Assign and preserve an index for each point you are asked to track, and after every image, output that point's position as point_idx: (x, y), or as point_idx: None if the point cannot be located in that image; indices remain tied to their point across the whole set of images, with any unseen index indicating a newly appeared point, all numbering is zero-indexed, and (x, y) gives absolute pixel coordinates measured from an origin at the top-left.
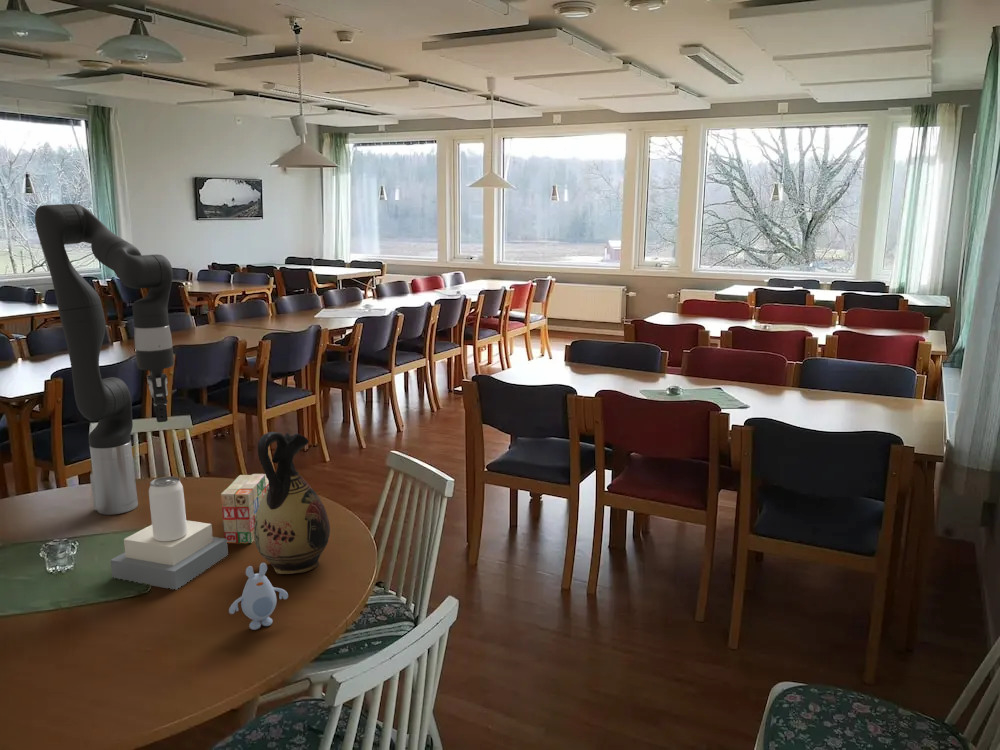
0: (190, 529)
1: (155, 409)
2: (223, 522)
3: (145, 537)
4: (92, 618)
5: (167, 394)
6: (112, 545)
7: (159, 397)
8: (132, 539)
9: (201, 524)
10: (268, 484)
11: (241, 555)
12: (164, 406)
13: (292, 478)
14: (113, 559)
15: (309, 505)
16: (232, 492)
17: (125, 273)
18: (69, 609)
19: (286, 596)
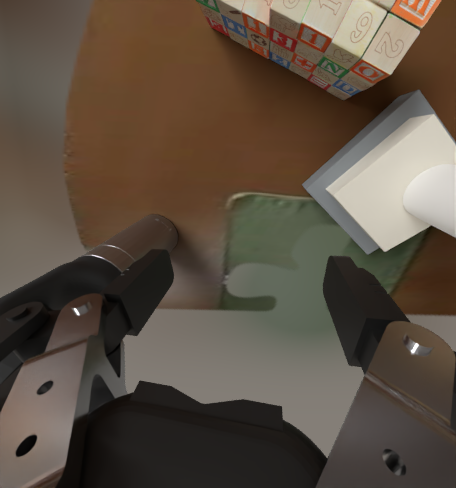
0: (429, 157)
1: (166, 287)
2: (360, 91)
3: (403, 226)
4: (449, 263)
5: (378, 382)
6: (264, 241)
7: (128, 312)
8: (395, 242)
9: (418, 135)
10: None
11: (414, 70)
12: (383, 321)
13: None
14: (368, 251)
15: None
16: (403, 36)
17: None
18: (406, 278)
19: None
